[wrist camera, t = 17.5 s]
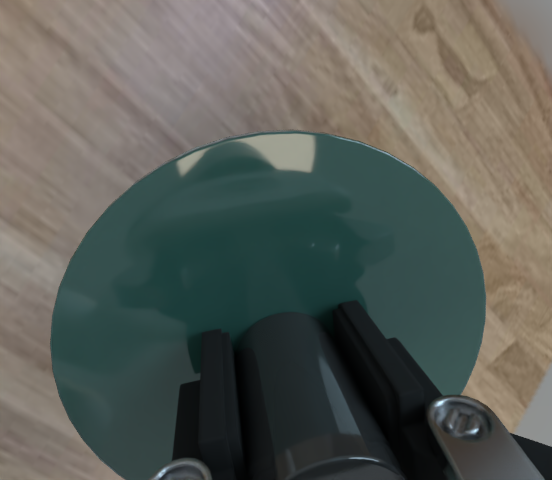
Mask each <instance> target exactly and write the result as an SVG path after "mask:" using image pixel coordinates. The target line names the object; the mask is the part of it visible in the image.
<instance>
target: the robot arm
mask: <svg viewBox="0 0 552 480" xmlns="http://www.w3.org/2000/svg"><path fill="white" fill-rule="evenodd" d="M333 323H334V332H335V341H336V343H337V345H338V347H339V349H340V350H341V352H342V354H343V356H344V358H345V360H346V362H347V364H348V366H349V368H350V369H351V371H352V373H353V375H354V377H355V379H356V381H357V383H358V385H359V386H360V388H361V390H362V392H363V394H364V396H365V398H366V400H367V402H368V404H369V405H370V407H371V409H372V411H373V413H374V415H375V417H376V419H377V421H378V422H379V424H380V426H381V428H382V430H383V432H384V434H385V436H386V438H387V439H388V441H389V443H390V445H391V447H392V449H393V451H394V453H395V455H396V457H397V458H398V460H399V462H400V464H401V466H402V468H403V470H404V472H405V474H406V475H407V477H408V479H409V480H552V447H550V446H547V445H544V444H542V443H539V442H535V441H533V440H530V439H527V438H524V437H521V436H518V435H515V434H512V433H509V432H508V430H507V429H506V428H505V426H504V425H503V424H502V422H501V421H500V420H499V418H498V417H497V416H496V415H495V413H494V412H493V411H492V410H491V409H490V408H489V407H488V406H486V405H485V404H483V403H481V402H480V401H478V400H476V399H473V398H470V397H468V396H462V395H445V396H443V395H442V394H441V392H440V391H439V390H438V389H437V387H436V386H435V385H434V384H433V382H432V381H431V380H430V379H429V377H428V376H427V375H426V374H425V372H424V371H423V370H422V368H421V367H420V366H419V365H418V363H417V362H416V361H415V360H414V358H413V357H412V356H411V355H410V353H409V352H408V351H407V350H406V348H405V347H404V346H403V345H402V343H401V342H400V341H399V340H398V339H397V338H395V337H393V338H389V339H386V338H385V336H384V335H383V334H382V332H381V331H380V330H379V328H378V327H377V326H376V324H375V323H374V322H373V320H372V319H371V318H370V316H369V315H368V314H367V312H366V311H365V310H364V308H363V307H362V306H361V304H360V303H359V302H358V301H357V300H354V301H350V302H345V303H340V304H338V309H335V310H333ZM246 477H247V474H246V464H245V454H244V444H243V434H242V424H241V414H240V403H239V393H238V383H237V373H236V363H235V357H234V352H233V347H232V343H231V338H230V333H229V332H225V333H222V330H221V328H220V329H215V330H210V331H205V332H202V343H201V372H200V380H198V381H193V382H188V383H184V384H181V385H180V389H179V398H178V408H177V417H176V426H175V436H174V445H173V455H172V461H171V462H169V463H167V464H165V465H163V466H162V467H161V468H159V469H158V470H157V471H155V473H154V474H153V475H152V476H151V477H150V478H149V479H148V480H246Z"/></svg>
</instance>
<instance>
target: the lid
mask: <svg viewBox="0 0 552 480" xmlns="http://www.w3.org/2000/svg"><path fill="white" fill-rule="evenodd" d="M354 300H357V301H358V302H359V303H360V304H361V306H362V307H363V308H364V310H365V311H366V312H367V314H368V315H369V316H370V318H371V319H372V320H373V322H374V323H375V324H376V326H377V327H378V328H379V330H380V331H381V332H382V334H383V335H384V336H385V338H386V339H389V338H393V337H395V338H397V339H398V340H399V341H400V342H401V343H402V345H403V346H404V347H405V348H406V350H407V351H408V352H409V353H410V355H411V356H412V357H413V358H414V360H415V361H416V362H417V363H418V365H419V366H420V367H421V368H422V370H423V371H424V372H425V374H426V375H427V376H428V377H429V379H430V380H431V381H432V382H433V384H434V385H435V386H436V387H437V389H438V390H439V391H440V392H441V394H442V395H443V396H445V395H461V393H462V392H463V390H464V388H465V386H466V384H467V382H468V380H469V377H470V375H471V373H472V371H473V368H474V366H475V363H476V360H477V357H478V353H479V350H480V346H481V343H482V338H483V331H484V325H485V316H486V292H485V284H484V275H483V270H482V266H481V263H480V259H479V255H478V252H477V249H476V246H475V244H474V242H473V240H472V237H471V235H470V233H469V231H468V228H467V226H466V225H465V223H464V222H463V220H462V219H461V217H460V215H459V214H458V212H457V211H456V209H455V208H454V206H453V205H452V204H451V202H450V201H449V200H448V199H447V198H446V197H445V196H444V195H443V194H442V192H441V191H440V190H439V189H438V188H437V187H436V186H435V185H434V184H433V183H432V182H431V181H429V180H428V179H427V178H426V177H424V176H423V175H422V174H421V173H419V172H418V171H417V170H416V169H415V168H413V167H412V166H410V165H408V164H407V163H405V162H403V161H401V160H400V159H398V158H396V157H395V156H393V155H391V154H389V153H388V152H385V151H383V150H380V149H378V148H375V147H373V146H370V145H368V144H365V143H363V142H360V141H356V140H352V139H348V138H344V137H340V136H336V135H332V134H327V133H322V132H312V131H301V130H273V131H257V132H252V133H246V134H241V135H236V136H230V137H226V138H223V139H219V140H216V141H213V142H210V143H207V144H204V145H201V146H198V147H195V148H193V149H191V150H189V151H187V152H185V153H183V154H181V155H179V156H176V157H174V158H172V159H170V160H168V161H166V162H164V163H163V164H161V165H160V166H158V167H157V168H155V169H154V170H152V171H151V172H149V173H148V174H146V175H145V176H143V177H142V178H140V179H139V180H137V181H136V182H135V183H134V184H133V185H132V186H131V187H129V188H128V189H127V190H126V191H125V192H124V193H123V194H122V195H120V196H119V197H118V198H117V199H116V200H115V201H114V202H113V203H112V204H111V205H110V206H109V207H108V208H107V209H106V210H105V212H104V213H103V214H102V215H101V216H100V217H99V219H98V220H97V221H96V222H95V223H94V225H93V226H92V227H91V228H90V229H89V231H88V232H87V233H86V235H85V237H84V238H83V240H82V241H81V243H80V245H79V246H78V248H77V250H76V251H75V253H74V255H73V256H72V258H71V260H70V262H69V264H68V267H67V269H66V272H65V274H64V276H63V279H62V281H61V284H60V286H59V289H58V293H57V298H56V302H55V306H54V310H53V314H52V325H51V338H50V347H51V358H52V369H53V374H54V378H55V382H56V386H57V389H58V393H59V397H60V399H61V401H62V404H63V406H64V408H65V410H66V413H67V415H68V417H69V419H70V421H71V422H72V424H73V426H74V427H75V429H76V430H77V432H78V433H79V435H80V436H81V438H82V439H83V441H84V442H85V443H86V444H87V445H88V447H89V448H90V449H91V450H92V451H93V452H94V453H95V454H96V456H97V457H98V458H99V459H100V460H101V461H102V462H104V463H105V464H106V465H107V466H108V467H109V468H111V469H112V470H113V471H114V472H115V473H117V474H118V475H119V476H121V477H122V478H124V479H125V480H148V479H149V478H150V477H151V476H152V475H153V474H154V473H155V471H157V470H158V469H159V468H161V467H162V466H163V465H165V464H167V463H169V462H171V461H172V455H173V445H174V436H175V426H176V417H177V408H178V398H179V389H180V385H181V384H184V383H188V382H193V381H198V380H200V372H201V343H202V332H205V331H210V330H215V329H220V328H221V330H222V333H225V332H229V333H230V338H231V343H232V347H233V352H234V357H235V363H236V373H237V383H238V393H239V403H240V414H241V424H242V434H243V444H244V454H245V464H246V474H247V477H246V480H409V479H408V477H407V475H406V474H405V472H404V470H403V468H402V466H401V464H400V462H399V460H398V458H397V457H396V455H395V453H394V451H393V449H392V447H391V445H390V443H389V441H388V439H387V438H386V436H385V434H384V432H383V430H382V428H381V426H380V424H379V422H378V421H377V419H376V417H375V415H374V413H373V411H372V409H371V407H370V405H369V404H368V402H367V400H366V398H365V396H364V394H363V392H362V390H361V388H360V386H359V385H358V383H357V381H356V379H355V377H354V375H353V373H352V371H351V369H350V368H349V366H348V364H347V362H346V360H345V358H344V356H343V354H342V352H341V350H340V349H339V347H338V345H337V343H336V341H335V332H334V323H333V310H335V309H338V304H340V303H345V302H350V301H354Z"/></svg>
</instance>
